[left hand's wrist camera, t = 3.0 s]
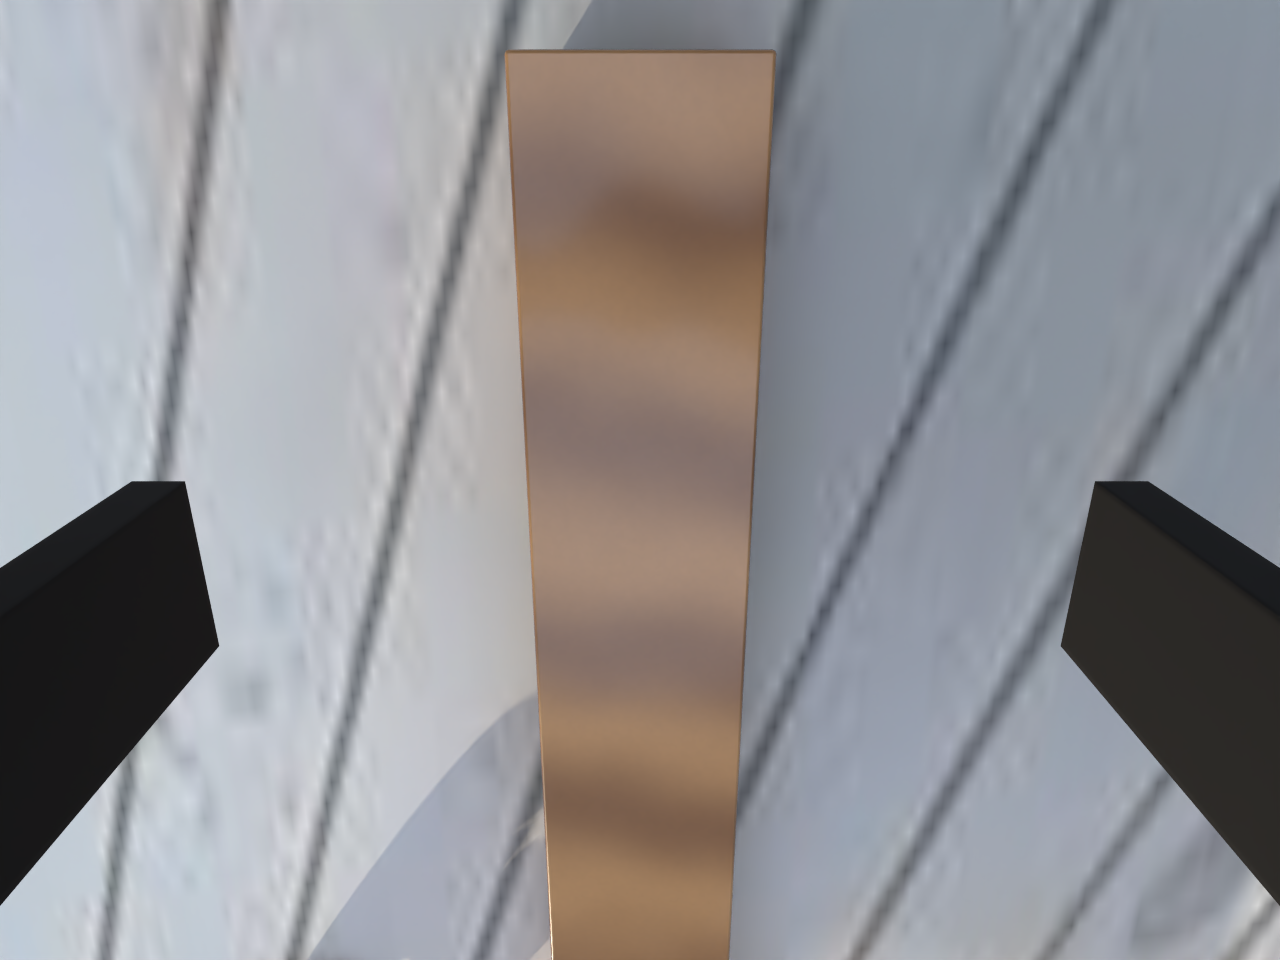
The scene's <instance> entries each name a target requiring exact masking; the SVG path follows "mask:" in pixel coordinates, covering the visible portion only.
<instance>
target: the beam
mask: <svg viewBox="0 0 1280 960" xmlns="http://www.w3.org/2000/svg"><path fill="white" fill-rule="evenodd" d="M775 69H776V52H775V51H774V50H507V51H506V52H505V70H506V89H507V109H508V128H509V147H510V167H511V186H512V205H513V224H514V244H515V263H516V282H517V302H518V321H519V340H520V360H521V379H522V398H523V417H524V437H525V456H526V475H527V495H528V514H529V533H530V552H531V572H532V591H533V610H534V630H535V649H536V668H537V688H538V707H539V726H540V745H541V765H542V784H543V803H544V823H545V842H546V861H547V880H548V900H549V919H550V938H551V958H552V960H729V951H730V931H731V912H732V893H733V874H734V855H735V836H736V816H737V797H738V778H739V759H740V740H741V721H742V701H743V682H744V663H745V644H746V625H747V606H748V586H749V567H750V548H751V529H752V510H753V491H754V471H755V452H756V433H757V414H758V395H759V376H760V356H761V337H762V318H763V299H764V280H765V261H766V241H767V222H768V203H769V184H770V165H771V146H772V126H773V107H774V88H775Z"/></svg>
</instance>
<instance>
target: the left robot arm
mask: <svg viewBox="0 0 1280 960" xmlns="http://www.w3.org/2000/svg"><path fill="white" fill-rule="evenodd" d="M218 647H219V643H218V638H217V633H216V628H215V623H214V619H213V614H212V609H211V604H210V599H209V595H208V590H207V585H206V580H205V575H204V571H203V566H202V561H201V556H200V551H199V547H198V542H197V537H196V532H195V527H194V523H193V518H192V513H191V508H190V503H189V499H188V494H187V489H186V484H185V481H132V482H130V483H129V484H127V485H126V486H124V487H123V488H121V489H120V490H118V491H116V492H115V493H113V494H112V495H110V496H109V497H107V498H106V499H104V500H103V501H101V502H100V503H98V504H97V505H95V506H94V507H92V508H91V509H89V510H88V511H86V512H85V513H83V514H82V515H80V516H79V517H77V518H75V519H74V520H72V521H71V522H69V523H68V524H66V525H65V526H63V527H62V528H60V529H59V530H57V531H56V532H54V533H53V534H51V535H50V536H48V537H47V538H45V539H44V540H42V541H41V542H39V543H37V544H36V545H34V546H33V547H31V548H30V549H28V550H27V551H25V552H24V553H22V554H21V555H19V556H18V557H16V558H15V559H13V560H12V561H10V562H9V563H7V564H6V565H4V566H3V567H1V568H0V905H1V904H2V903H3V902H4V901H5V899H6V898H7V897H8V896H9V895H10V894H11V892H12V891H13V890H14V889H15V888H16V886H17V885H18V884H19V883H20V882H21V880H22V879H23V878H24V877H25V876H26V875H27V873H28V872H29V871H30V870H31V869H32V867H33V866H34V865H35V864H36V863H37V861H38V860H39V859H40V858H41V857H42V856H43V854H44V853H45V852H46V851H47V850H48V848H49V847H50V846H51V845H52V844H53V843H54V841H55V840H56V839H57V838H58V837H59V835H60V834H61V833H62V832H63V831H64V829H65V828H66V827H67V826H68V825H69V824H70V822H71V821H72V820H73V819H74V818H75V816H76V815H77V814H78V813H79V812H80V810H81V809H82V808H83V807H84V806H85V805H86V803H87V802H88V801H89V800H90V799H91V797H92V796H93V795H94V794H95V793H96V792H97V790H98V789H99V788H100V787H101V786H102V784H103V783H104V782H105V781H106V780H107V778H108V777H109V776H110V775H111V774H112V773H113V771H114V770H115V769H116V768H117V767H118V765H119V764H120V763H121V762H122V761H123V759H124V758H125V757H126V756H127V755H128V754H129V752H130V751H131V750H132V749H133V748H134V746H135V745H136V744H137V743H138V742H139V741H140V739H141V738H142V737H143V736H144V735H145V733H146V732H147V731H148V730H149V729H150V727H151V726H152V725H153V724H154V723H155V722H156V720H157V719H158V718H159V717H160V716H161V714H162V713H163V712H164V711H165V710H166V709H167V707H168V706H169V705H170V704H171V703H172V701H173V700H174V699H175V698H176V697H177V695H178V694H179V693H180V692H181V691H182V690H183V688H184V687H185V686H186V685H187V684H188V682H189V681H190V680H191V679H192V678H193V676H194V675H195V674H196V673H197V672H198V671H199V669H200V668H201V667H202V666H203V665H204V663H205V662H206V661H207V660H208V659H209V658H210V656H211V655H212V654H213V653H214V652H215V650H216V649H217V648H218ZM1061 647H1062V648H1063V649H1064V650H1065V652H1066V653H1067V654H1068V655H1069V656H1070V658H1071V659H1072V660H1073V661H1074V662H1075V663H1076V665H1077V666H1078V667H1079V668H1080V669H1081V671H1082V672H1083V673H1084V674H1085V675H1086V676H1087V678H1088V679H1089V680H1090V681H1091V682H1092V684H1093V685H1094V686H1095V687H1096V688H1097V690H1098V691H1099V692H1100V693H1101V694H1102V695H1103V697H1104V698H1105V699H1106V700H1107V701H1108V703H1109V704H1110V705H1111V706H1112V707H1113V709H1114V710H1115V711H1116V712H1117V713H1118V714H1119V716H1120V717H1121V718H1122V719H1123V720H1124V722H1125V723H1126V724H1127V725H1128V726H1129V727H1130V729H1131V730H1132V731H1133V732H1134V733H1135V735H1136V736H1137V737H1138V738H1139V739H1140V741H1141V742H1142V743H1143V744H1144V745H1145V746H1146V748H1147V749H1148V750H1149V751H1150V752H1151V754H1152V755H1153V756H1154V757H1155V758H1156V759H1157V761H1158V762H1159V763H1160V764H1161V765H1162V767H1163V768H1164V769H1165V770H1166V771H1167V773H1168V774H1169V775H1170V776H1171V777H1172V778H1173V780H1174V781H1175V782H1176V783H1177V784H1178V786H1179V787H1180V788H1181V789H1182V790H1183V792H1184V793H1185V794H1186V795H1187V796H1188V797H1189V799H1190V800H1191V801H1192V802H1193V803H1194V805H1195V806H1196V807H1197V808H1198V809H1199V810H1200V812H1201V813H1202V814H1203V815H1204V816H1205V818H1206V819H1207V820H1208V821H1209V822H1210V824H1211V825H1212V826H1213V827H1214V828H1215V829H1216V831H1217V832H1218V833H1219V834H1220V835H1221V837H1222V838H1223V839H1224V840H1225V841H1226V843H1227V844H1228V845H1229V846H1230V847H1231V848H1232V850H1233V851H1234V852H1235V853H1236V854H1237V856H1238V857H1239V858H1240V859H1241V860H1242V861H1243V863H1244V864H1245V865H1246V866H1247V867H1248V869H1249V870H1250V871H1251V872H1252V873H1253V875H1254V876H1255V877H1256V878H1257V879H1258V880H1259V882H1260V883H1261V884H1262V885H1263V886H1264V888H1265V889H1266V890H1267V891H1268V892H1269V894H1270V895H1271V896H1272V897H1273V898H1274V899H1275V901H1276V902H1277V903H1278V904H1279V905H1280V568H1279V567H1277V566H1276V565H1274V564H1273V563H1271V562H1270V561H1268V560H1267V559H1265V558H1264V557H1262V556H1261V555H1259V554H1258V553H1256V552H1255V551H1253V550H1252V549H1250V548H1249V547H1247V546H1246V545H1244V544H1243V543H1241V542H1239V541H1238V540H1236V539H1235V538H1233V537H1232V536H1230V535H1229V534H1227V533H1226V532H1224V531H1223V530H1221V529H1220V528H1218V527H1217V526H1215V525H1214V524H1212V523H1211V522H1209V521H1208V520H1206V519H1205V518H1203V517H1201V516H1200V515H1198V514H1197V513H1195V512H1194V511H1192V510H1191V509H1189V508H1188V507H1186V506H1185V505H1183V504H1182V503H1180V502H1179V501H1177V500H1176V499H1174V498H1173V497H1171V496H1170V495H1168V494H1167V493H1165V492H1164V491H1162V490H1160V489H1159V488H1157V487H1156V486H1154V485H1153V484H1151V483H1150V482H1148V481H1095V484H1094V489H1093V494H1092V499H1091V503H1090V508H1089V513H1088V518H1087V523H1086V527H1085V532H1084V537H1083V542H1082V547H1081V551H1080V556H1079V561H1078V566H1077V571H1076V575H1075V580H1074V585H1073V590H1072V595H1071V599H1070V604H1069V609H1068V614H1067V619H1066V623H1065V628H1064V633H1063V638H1062V643H1061Z"/></svg>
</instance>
